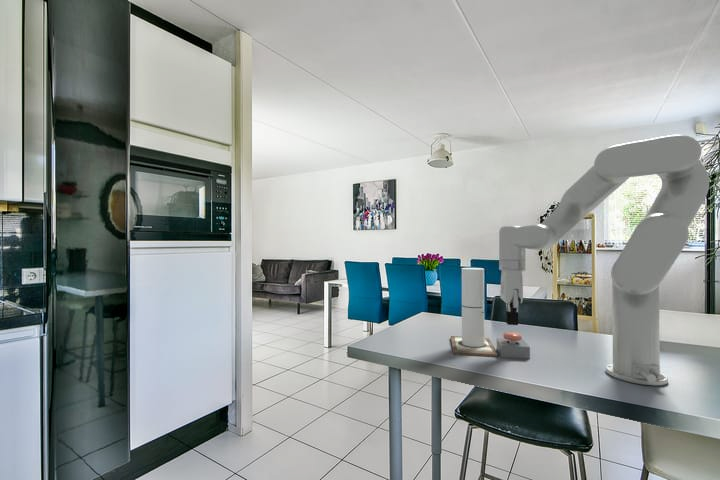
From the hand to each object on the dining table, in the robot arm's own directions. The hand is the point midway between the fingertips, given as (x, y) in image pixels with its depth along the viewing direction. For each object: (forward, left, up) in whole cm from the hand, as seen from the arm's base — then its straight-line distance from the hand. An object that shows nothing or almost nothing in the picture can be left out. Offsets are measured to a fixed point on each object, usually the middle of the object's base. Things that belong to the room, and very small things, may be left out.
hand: (512, 324), depth 108 cm
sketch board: (+5, +11, -9) cm, 15 cm away
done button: (0, 0, -7) cm, 7 cm away
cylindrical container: (+5, +11, -8) cm, 15 cm away
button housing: (0, 0, -9) cm, 9 cm away
